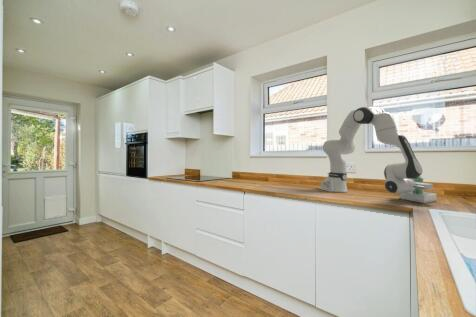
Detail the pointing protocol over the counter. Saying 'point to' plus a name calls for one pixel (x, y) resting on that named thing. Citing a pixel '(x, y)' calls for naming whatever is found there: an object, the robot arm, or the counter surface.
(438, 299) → the counter surface
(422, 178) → the green bottle
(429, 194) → the tray
